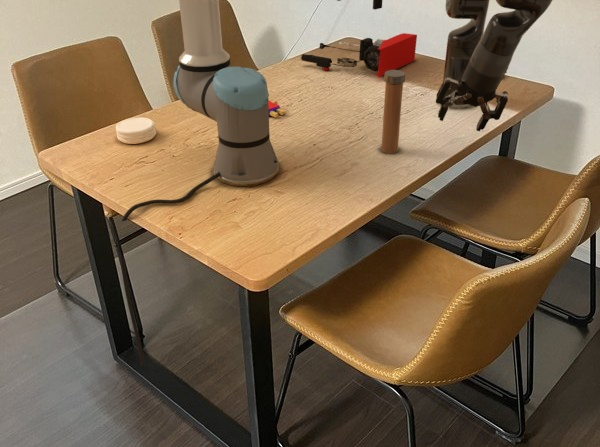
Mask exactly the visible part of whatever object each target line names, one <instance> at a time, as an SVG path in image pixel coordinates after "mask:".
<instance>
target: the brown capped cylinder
mask: <svg viewBox="0 0 600 447" xmlns="http://www.w3.org/2000/svg"><path fill="white" fill-rule="evenodd" d="M403 88H404V83H401V84H389V83H386V82H385V87H384V99H383V100H384V101H383V102H384V103H383V118H382V120H383V121H382V133H381V151H382V152H383V153H385V154H395V153H397V152H398V151H399V142H400V139H399V138H400V126H401V117H402V116H401V114H402V103H403V102H402V101H403V100H402V99H403Z"/></svg>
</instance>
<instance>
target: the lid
mask: <svg viewBox="0 0 600 447" xmlns="http://www.w3.org/2000/svg"><path fill="white" fill-rule="evenodd" d="M383 76H384V79H383V81H384V82H385V84H386V83H389V84H401V83H403V84H404V83H405V81H406V72H405V71H403V70H399V69H395V70H389V71H386V72H385V74H384V75H383Z"/></svg>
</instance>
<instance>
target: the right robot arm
mask: <svg viewBox="0 0 600 447" xmlns="http://www.w3.org/2000/svg"><path fill="white" fill-rule="evenodd" d="M495 2H496V3H497V5H499V6H500V7H501V8H503V9H509V10H511V11H504V12H503V11H502V12H497V13H495V14H494V15H492V16H491V18H490V19H489V21H488V22H487V25H486V21H487V15H488V11H489V6H490V0H445V4H444V6H445V12H446V15H447V16H448V17H449V18H450V19H454V20H469V21H468V22H467V23H466V24H464V25H463V26H460V27H457V28H455V29H453V30H451V31H450V32H449V33H448V35H447V42H446V49H445V50H446V51H445V59H444V68H443V77H442V82H441V85H440V87H439V89H438V91H437V92H436V99H435V103H436V104H438V105H439V104H440V107H439V110H438V111H437V112H438V113H437V118H439V121H440V122H443V121H444V119H445V117H446V115H447V113H448V110H449V108H451V109H467V108H470V107H473V108H477V107H479V108H480V111H481V116H480V118H479V120H478V122H477V124H476V126H475V127H476V132H481V131H483V130H485V128H486V126H487V124H488V122H489V121H490V120H495V121H499V120H500V119H501V116H502V114H503V112H504V110H505V108H506V106H507V103H508V101H509V93H508V91H505V90H504V91H502V92H498V91H497V89H498V87H499V86H500V84H501V81H502V79H503V78H504V77H505V75H506V74H507V71H508V69H509V67H510V65H511V62H512V60H513V56H514V53H515V52H516V50H517V48H518V46H519V44H520V42H521V40H522V38H523V36H524V35H526V33H527V32H528V31H529V30H530V29H531V27H532V26H533V25H534V24H535V23H536V22H537V21H538V20H539V19H540V18H541V17H542V15H544V13H545V12H546V11H547V10H548V9H549V7H550V6H551V4H552V2H553V0H495ZM485 27H486V28H485ZM494 99H496V100H495V101H496V106H495V107H494V109H491V108H490V104H489V103H490V102H491V101H492V100H494Z"/></svg>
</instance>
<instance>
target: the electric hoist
mask: <svg viewBox="0 0 600 447" xmlns="http://www.w3.org/2000/svg"><path fill="white" fill-rule="evenodd" d="M417 38H418V34H414V33H406V32H403V33H399V34H397V35H395V36H392V37H390V38H388V39H382V38H377V39H376V40H375V41H373V40H374V39H373V38H371V37H365V38H363V39H361V40H360V41H359V43H355V42H351V41H350V42H346V41H339V42H338V43H339V45H344V46H346V45H347V46H349V48H350V47H358V48H359V50H355V52H359V56H358V60H356V59H354V58H348V57H342V58H341V57H338V58H337V59H336V60H337V62H336V63H337V64H336V63H333V60H332V58H331V57H326V56H325V57H324V56H318V55H315V54H307V53H306V54H305V53H302V54H301V57H300V59H301V61H302V62H306V63H312V64H316V67H318V68H322V70H323V71H329V70H330V67H331V66H333V65H334V66H338V67H343V68H355V67H357V66H358V63H359V62H363V63H364V65H365V66H366V68H367V69H369V70H371V71H373V72H377V74H376V75H375V77H376V78H380V77H382V76H385V72H386V71H389V70H398V69H399V68H401V67H403V66H405V65H408V64H410V63H412V62H414V61H415V59H416V50H417V41H418V40H417ZM325 48H333V49H338V50H345V51H348V52H353V49H347V48H341V47H335V46H331V45H327V44H325V43H323V42H320V43H319V50H320V49H321V50H323V49H325Z"/></svg>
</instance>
